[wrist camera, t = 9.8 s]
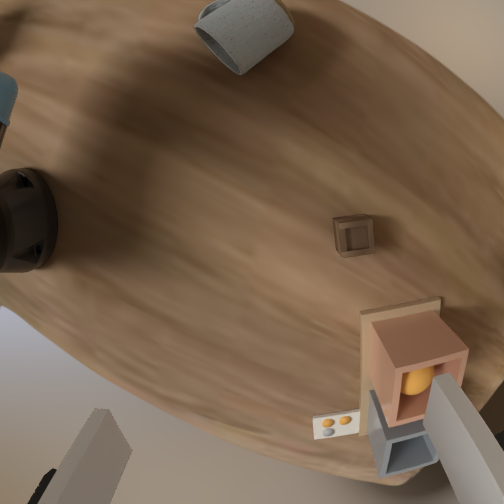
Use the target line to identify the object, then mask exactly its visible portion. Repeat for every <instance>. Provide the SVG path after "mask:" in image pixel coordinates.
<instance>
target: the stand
mask: <svg viewBox="0 0 504 504" xmlns="http://www.w3.org/2000/svg"><path fill="white" fill-rule="evenodd" d="M333 225H334V234H335V243H336V250H337V251H338V253H339V254H340V256H341V257H342V258H346V257H353V256H360V255H366V254H373V253H375V243H374V230H373V219H372V218H370V217H368V216H366V215H364V214H360V215H352V216H344V217H337V218H333Z"/></svg>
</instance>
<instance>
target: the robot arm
mask: <svg viewBox="0 0 504 504" xmlns="http://www.w3.org/2000/svg"><path fill="white" fill-rule="evenodd" d="M17 94H18V85H17V82H16V81H15V79H14V78H13V77H11V76H10V75H8V74H5V73H3V72H1V71H0V147H1V144H2V141H3V138H4V135H5V132H6V129H7V126H9V124H10V121H9V119H10V116H11V112H12V109H13V106H14V103H15V100H16V97H17ZM56 237H57V213H56V207H55V203H54V200H53V197H52V194H51V192H50V190H49V188H48V186H47V184H46V183H45V181H44V180H43V179H42V178H41V177H40V176H39V175H38V174H37V173H36V172H34V171H32V170H30V169H25V168H21V169H11V170H8V171H5V172H3V173H2V174H0V273H24V272H29V271H31V270H33V269H36V268H38V267H40V266H41V265H43V264H44V263H45V262H46V261H47V260H48V259H49V257H50V255H51V254H52V251H53V249H54V246H55V242H56ZM423 426H424V428H425V430H426V432H427V434H428V436H429V438H430V440H431V442H432V444H433V446H434V448H435V450H436V452H437V454H438V457H439V459H440V461H441V463H442V465H443V467H444V470H445V472H446V474H447V476H448V478H449V481H450V482H451V485H452V488H453V490H454V492H455V494H456V497H457V499H458V501H459V504H504V431H502V432H500V433H498V434H496V435H494V436H493V434H492V433H491V431H490V430H489V428H488V426H487V425H486V423H485V422H484V420H483V419H482V418H481V416H480V415H479V413H478V412H477V410H476V409H475V407H474V406H473V404H472V403H471V402H470V400H469V399H468V397H467V396H466V394H465V393H464V392H463V390H462V389H461V387H460V386H459V385H458V383H457V382H456V381H455V379H454V378H453V376H452V375H451V374H450V372H448V373H445V374H442V375H438V376H435V377H433V380H432V385H431V390H430V395H429V399H428V404H427V408H426V412H425V416H424V420H423ZM131 452H132V449H131V447H130V445H129V444H128V442H127V441H126V439H125V438H124V435H123V434H122V432H121V430H120V429H119V427H118V425H117V423H116V421H115V420H114V418H113V416H112V414H111V412H110V410H108V409H98V408H95V409H94V410H93V412H92V414H91V415H90V417H89V418H88V420H87V422H86V423H85V425H84V427H83V428H82V430H81V431H80V433H79V434H78V436H77V438H76V439H75V441H74V443H73V444H72V446H71V448H70V449H69V451H68V452H67V454H66V456H65V457H64V459H63V461H62V462H61V464H60V466H59V468H58V469H57V470H56V469H51V470H50V471H49V472H48V473H47V474H45V475H44V477H43V478H42V480H41V482H40V483H39V486H38V487H37V488H36V490H35V493H33V495H32V497H31V499H30V500H29V502H28V504H110V502H111V500H112V497H113V495H114V493H115V490H116V488H117V485H118V483H119V481H120V478H121V476H122V474H123V471H124V469H125V467H126V464H127V462H128V460H129V457H130V455H131Z"/></svg>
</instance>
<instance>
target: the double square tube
mask: <svg viewBox="0 0 504 504" xmlns="http://www.w3.org/2000/svg"><path fill="white" fill-rule="evenodd" d="M440 305H441V299H440V298H439V297H433V298H429V299H424V300H419V301H414V302H409V303H404V304H399V305H394V306H388V307H383V308H377V309H371V310H366V311H360V312H359V315H360V395H359V410H360V416H359V432H358V435H359V436H363V435H368V437H369V441H370V444H371V448H372V452H373V456H374V460H375V463H376V467H377V471H378V475H379V478H383V477H387V476H391V475H395V474H399V473H403V472H406V471H410V470H414V469H417V468H420V467H424V466H427V465H430V464H433V463H436V462H437V461H438V459H439V457H438V454H437V452H436V450H435V448H434V446H433V444H432V442H431V440H430V438H429V436H428V434H427V432H426V430H425V428H424V426H423V420H424V416H425V412H426V408H427V404H428V399H429V395H430V390H431V385H432V382H431V383H430V385H429V386H428V387H427V389H425V390H424V391H423V392H421V393H419V394H416V395H406V394H403V393H401V392H400V391H401V383H402V374H403V373H406V372H410V371H414V370H418V369H422V368H426V367H429V366H433V365H434V377H435V376H438V375H442V374H445V373H448V372H450V374H451V375H452V376H453V378H454V379H455V381H456V382H457V383H458V385H459V386H460V387H461V385H462V381H463V377H464V372H465V368H466V363H467V358H468V353H469V348H468V347H467V346H466V345H465V344H464V343H463V341H462V340H461V339H460V338H459V337H458V336H457V335H456V334H455V333H454V332H453V331H452V330H451V329H450V327H449V326H448V325H447V324H446V323H445V322H444V321H443V320H442V319H441V318H440Z"/></svg>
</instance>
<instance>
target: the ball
mask: <svg viewBox="0 0 504 504" xmlns="http://www.w3.org/2000/svg"><path fill="white" fill-rule="evenodd" d="M433 377H434V365H433V366H429V367H426V368H422V369H418V370H414V371H410V372H406V373H403V374H402V383H401V391H400V392H401V393H403V394H406V395H416V394H419V393H421V392H423V391H424V390H425V389H427V387H428V386H429V385H430V383H431V382H432V380H433Z"/></svg>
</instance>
